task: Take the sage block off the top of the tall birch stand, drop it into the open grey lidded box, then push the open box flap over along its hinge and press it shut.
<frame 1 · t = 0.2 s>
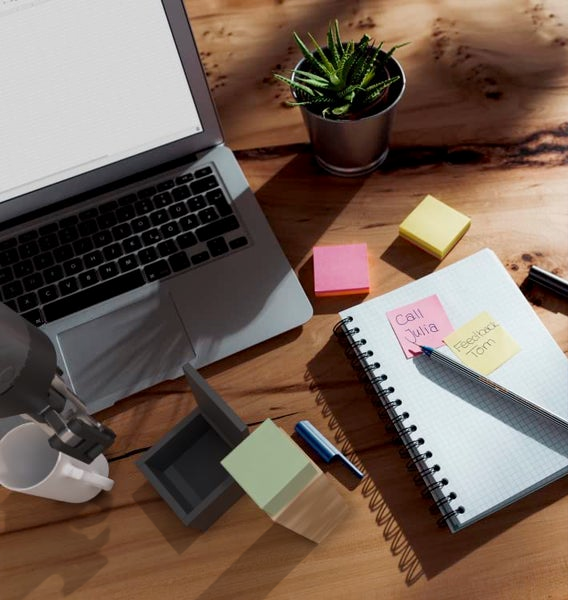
hand: (79, 409, 61), 18 cm above the table, tool pointing down, fingers open, 8 cm apart
block: (276, 472, 50), point 26 cm above the table, touching stand
stand: (320, 510, 74), on the table
mug: (95, 480, 76), on the table
grey lidded box: (211, 472, 76), on the table
open box flap: (220, 414, 67), point 12 cm above the table, hinge at 100.0°
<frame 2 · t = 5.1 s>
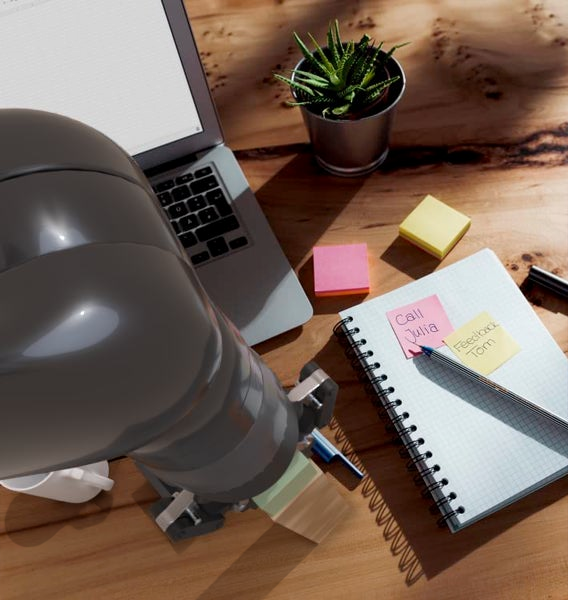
hand: (275, 472, 50), 26 cm above the table, tool pointing down, fingers closed on block, 4 cm apart
block: (276, 472, 50), point 26 cm above the table, touching gripper, stand
everything else where it was.
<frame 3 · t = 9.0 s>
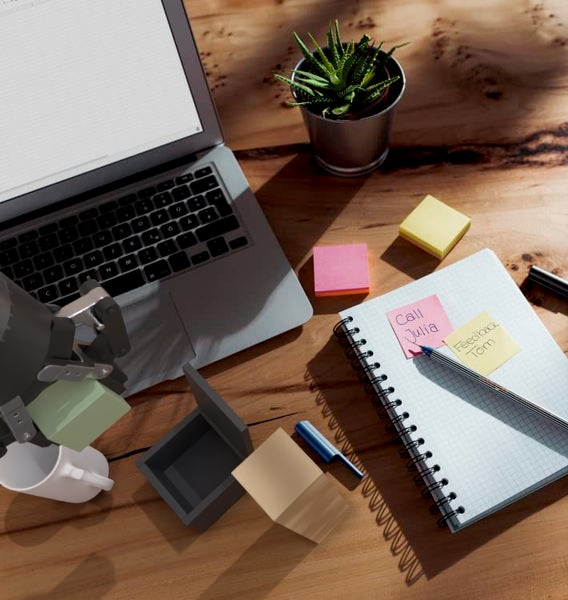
hand: (86, 408, 48), 31 cm above the table, tool pointing down, fingers closed on block, 4 cm apart
block: (88, 408, 48), point 31 cm above the table, touching gripper
everything else where it was.
when the fingers open (9 cm above the table, at t = 13.0 s): block drops 8 cm, point 1 cm above the table.
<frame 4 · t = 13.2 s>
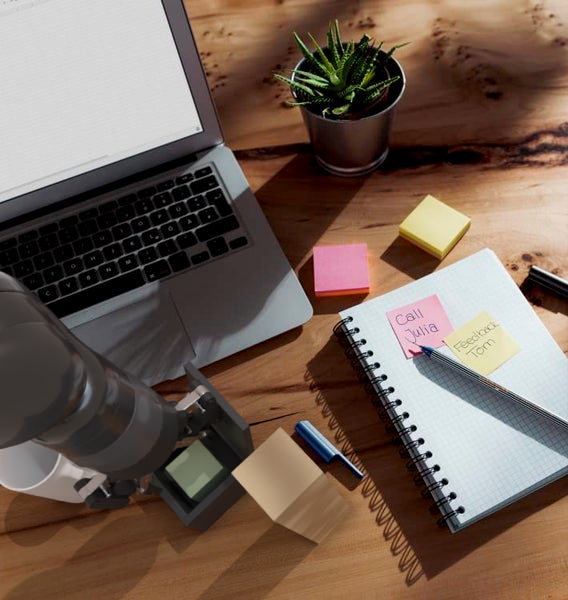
hand: (181, 461, 67), 10 cm above the table, tool pointing down, fingers open, 6 cm apart
block: (206, 474, 75), point 1 cm above the table
open box flap: (221, 413, 67), point 12 cm above the table, hinge at 101.0°, touching gripper, hand
everything else where it was.
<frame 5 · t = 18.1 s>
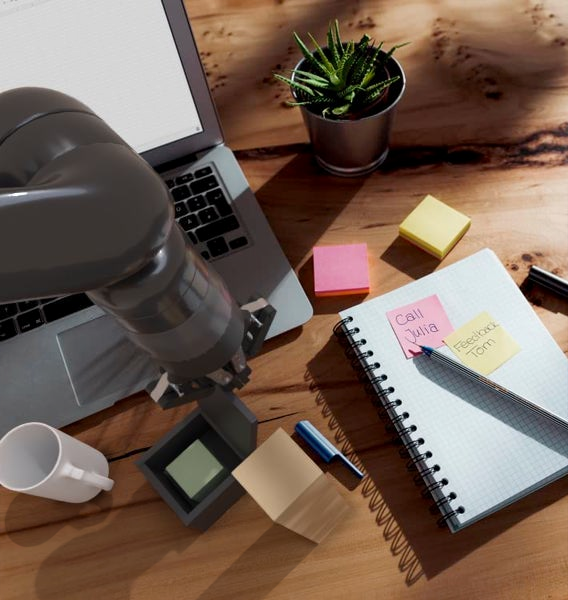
hand: (238, 379, 64), 16 cm above the table, tool pointing down, fingers closed
block: (206, 474, 75), point 1 cm above the table, touching grey lidded box
open box flap: (225, 410, 67), point 12 cm above the table, hinge at 107.2°, touching gripper
everything else where it was.
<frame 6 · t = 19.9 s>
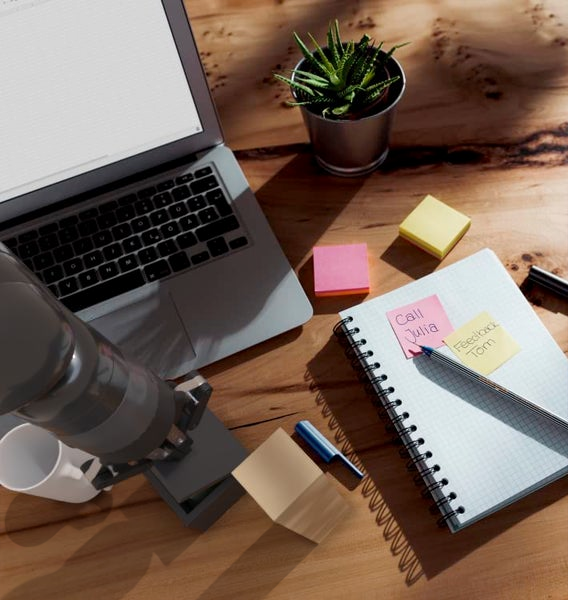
hand: (180, 448, 65), 12 cm above the table, tool pointing down, fingers closed
open box flap: (190, 447, 67), point 11 cm above the table, hinge at 44.5°, touching gripper
everything else where it was.
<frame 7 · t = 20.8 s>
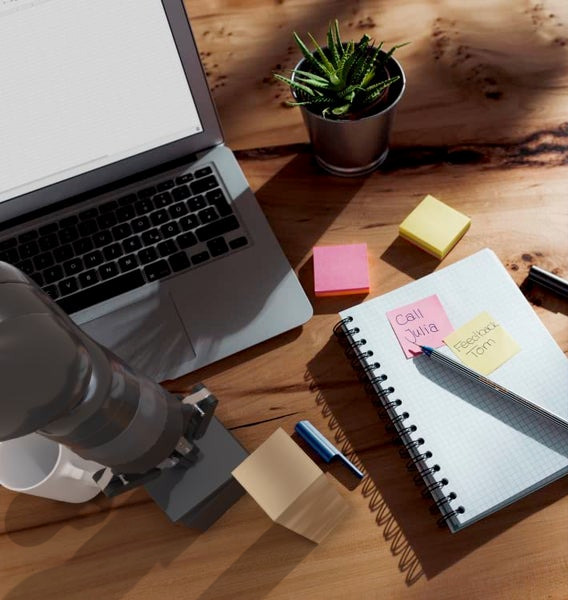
hand: (187, 456, 68), 9 cm above the table, tool pointing down, fingers closed
open box flap: (187, 459, 68), point 9 cm above the table, hinge at 17.9°
everything else where it was.
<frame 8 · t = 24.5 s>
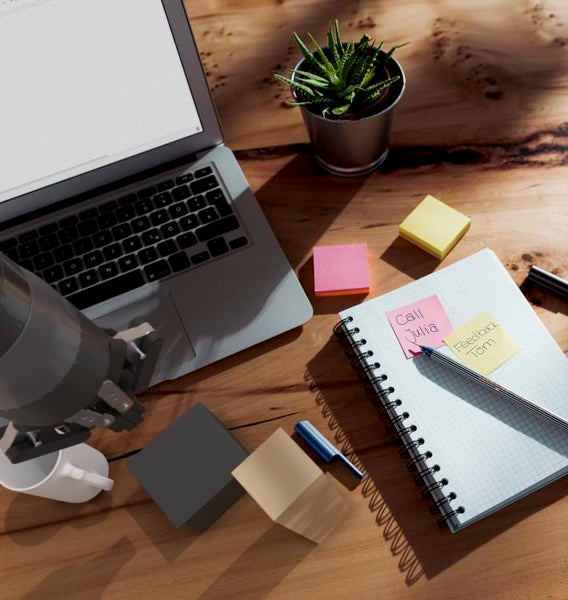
hand: (130, 417, 53), 25 cm above the table, tool pointing down, fingers closed
open box flap: (189, 463, 69), point 8 cm above the table, hinge at 3.0°
everything else where it was.
at the end: block inside the target area in the grey lidded box (0.5 cm from its centre), point 0.8 cm above the grey lidded box's base; open box flap at +3° (first picture: +100°) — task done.
